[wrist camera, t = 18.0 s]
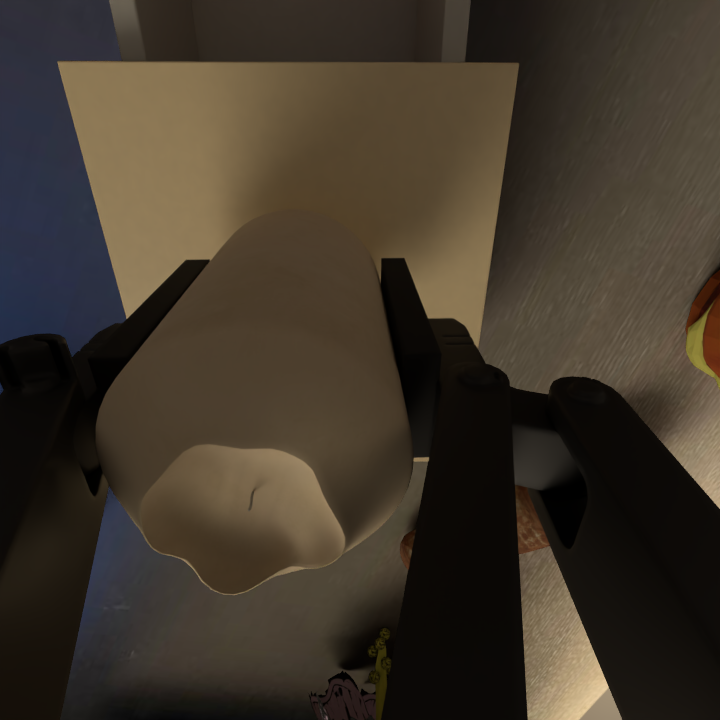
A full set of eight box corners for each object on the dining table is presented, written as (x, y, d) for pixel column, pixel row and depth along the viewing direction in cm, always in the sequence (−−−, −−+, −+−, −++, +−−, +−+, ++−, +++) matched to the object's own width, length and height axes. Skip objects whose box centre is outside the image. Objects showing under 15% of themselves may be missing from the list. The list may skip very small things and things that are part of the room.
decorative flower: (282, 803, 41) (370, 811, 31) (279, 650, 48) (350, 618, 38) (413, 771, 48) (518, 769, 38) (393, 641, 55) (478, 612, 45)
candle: (405, 241, 15) (493, 446, 6) (348, 378, 17) (354, 660, 9) (236, 179, 14) (52, 321, 5) (201, 335, 16) (39, 608, 8)
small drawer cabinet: (167, 76, 22) (56, 60, 14) (452, 77, 22) (520, 62, 14) (217, 362, 30) (166, 467, 21) (428, 359, 30) (462, 460, 22)
